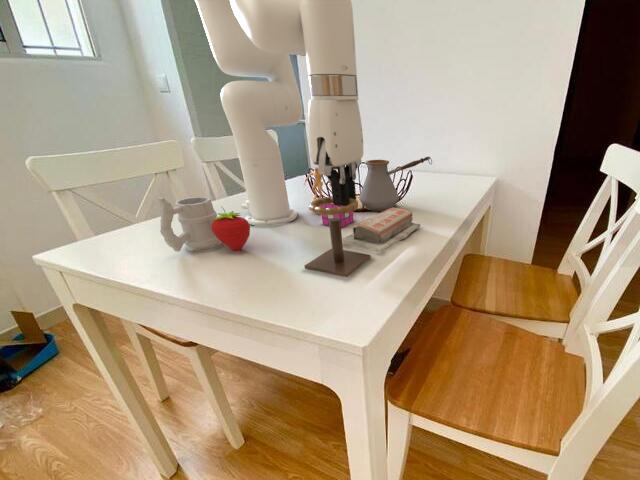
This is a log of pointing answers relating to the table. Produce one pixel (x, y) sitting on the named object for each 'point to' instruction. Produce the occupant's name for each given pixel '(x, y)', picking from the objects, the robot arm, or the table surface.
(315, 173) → the figurine
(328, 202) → the ring
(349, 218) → the puzzle toy
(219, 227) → the strawberry
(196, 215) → the mug
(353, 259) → the brown peg stand
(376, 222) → the packaged product
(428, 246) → the table surface
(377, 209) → the coffee pot
